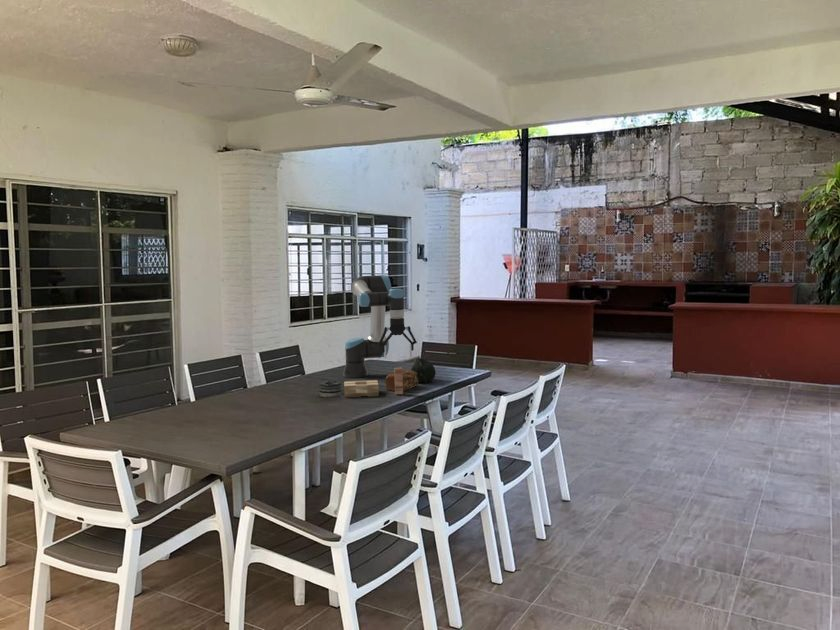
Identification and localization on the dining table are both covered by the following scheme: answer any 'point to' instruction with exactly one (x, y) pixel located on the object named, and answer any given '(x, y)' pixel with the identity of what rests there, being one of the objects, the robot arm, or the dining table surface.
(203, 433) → the dining table surface
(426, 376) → the squash
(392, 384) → the bread
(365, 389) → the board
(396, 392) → the peg
